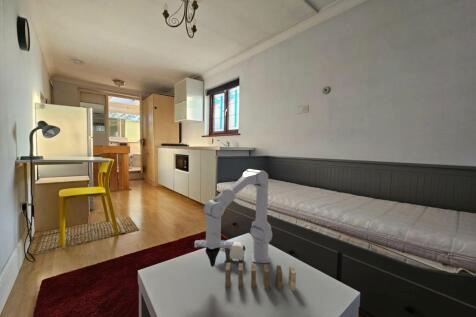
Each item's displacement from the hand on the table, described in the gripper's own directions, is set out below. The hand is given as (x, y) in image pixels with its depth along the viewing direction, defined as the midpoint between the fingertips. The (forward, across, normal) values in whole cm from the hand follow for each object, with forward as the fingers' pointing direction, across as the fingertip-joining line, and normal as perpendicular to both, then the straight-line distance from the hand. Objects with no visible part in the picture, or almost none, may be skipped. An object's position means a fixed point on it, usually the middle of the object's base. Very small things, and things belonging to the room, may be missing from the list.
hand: (212, 265), depth 78 cm
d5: (+7, +26, 0) cm, 27 cm away
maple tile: (+7, +31, 0) cm, 32 cm away
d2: (+7, +11, 0) cm, 13 cm away
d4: (+7, +21, 0) cm, 22 cm away
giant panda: (+7, +6, +16) cm, 19 cm away
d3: (+7, +16, 0) cm, 18 cm away
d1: (+7, +6, 0) cm, 9 cm away
